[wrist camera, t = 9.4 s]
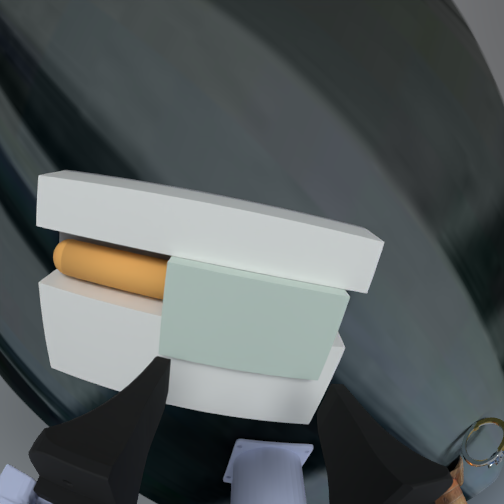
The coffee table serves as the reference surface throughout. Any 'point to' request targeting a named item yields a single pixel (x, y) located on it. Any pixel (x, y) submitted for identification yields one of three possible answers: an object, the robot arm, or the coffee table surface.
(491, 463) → the ring
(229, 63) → the coffee table surface
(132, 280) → the orange rounded rod
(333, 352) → the board
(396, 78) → the coffee table surface
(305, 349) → the cover
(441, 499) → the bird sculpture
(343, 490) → the robot arm
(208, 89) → the coffee table surface
